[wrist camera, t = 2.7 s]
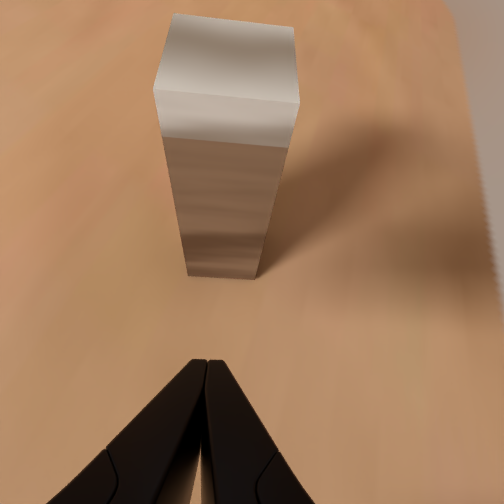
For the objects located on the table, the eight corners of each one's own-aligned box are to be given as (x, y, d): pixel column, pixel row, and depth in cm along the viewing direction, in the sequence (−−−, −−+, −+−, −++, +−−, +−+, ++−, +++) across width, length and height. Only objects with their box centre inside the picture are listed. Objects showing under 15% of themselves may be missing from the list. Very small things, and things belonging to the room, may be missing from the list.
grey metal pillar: (254, 279, 24) (299, 103, 11) (188, 275, 24) (152, 89, 11) (255, 224, 26) (293, 27, 13) (195, 220, 26) (173, 13, 13)
